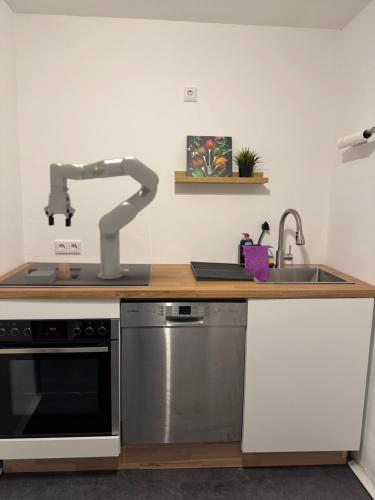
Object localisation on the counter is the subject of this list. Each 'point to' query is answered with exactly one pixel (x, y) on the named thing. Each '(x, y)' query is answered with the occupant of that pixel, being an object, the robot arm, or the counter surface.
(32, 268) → the walnut cube
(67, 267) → the terracotta cylinder
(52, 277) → the block
